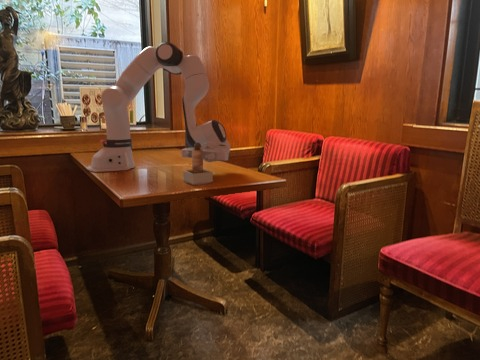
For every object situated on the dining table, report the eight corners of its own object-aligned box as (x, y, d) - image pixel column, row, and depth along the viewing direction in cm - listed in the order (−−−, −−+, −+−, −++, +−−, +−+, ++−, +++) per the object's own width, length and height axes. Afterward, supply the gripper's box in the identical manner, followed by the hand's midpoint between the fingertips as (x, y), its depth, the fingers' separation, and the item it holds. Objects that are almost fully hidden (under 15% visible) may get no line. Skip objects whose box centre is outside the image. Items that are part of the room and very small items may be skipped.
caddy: (193, 185, 148) (193, 174, 147) (183, 181, 156) (183, 170, 155) (212, 182, 153) (212, 172, 152) (201, 178, 161) (201, 168, 160)
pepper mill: (195, 182, 151) (195, 143, 148) (190, 180, 155) (190, 142, 151) (205, 180, 154) (204, 142, 150) (199, 178, 157) (199, 141, 154)
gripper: (189, 143, 167) (174, 147, 154) (231, 146, 160) (219, 150, 147) (189, 157, 168) (174, 162, 155) (231, 160, 161) (219, 165, 149)
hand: (196, 156), depth 151 cm, fingers open, 8 cm apart
